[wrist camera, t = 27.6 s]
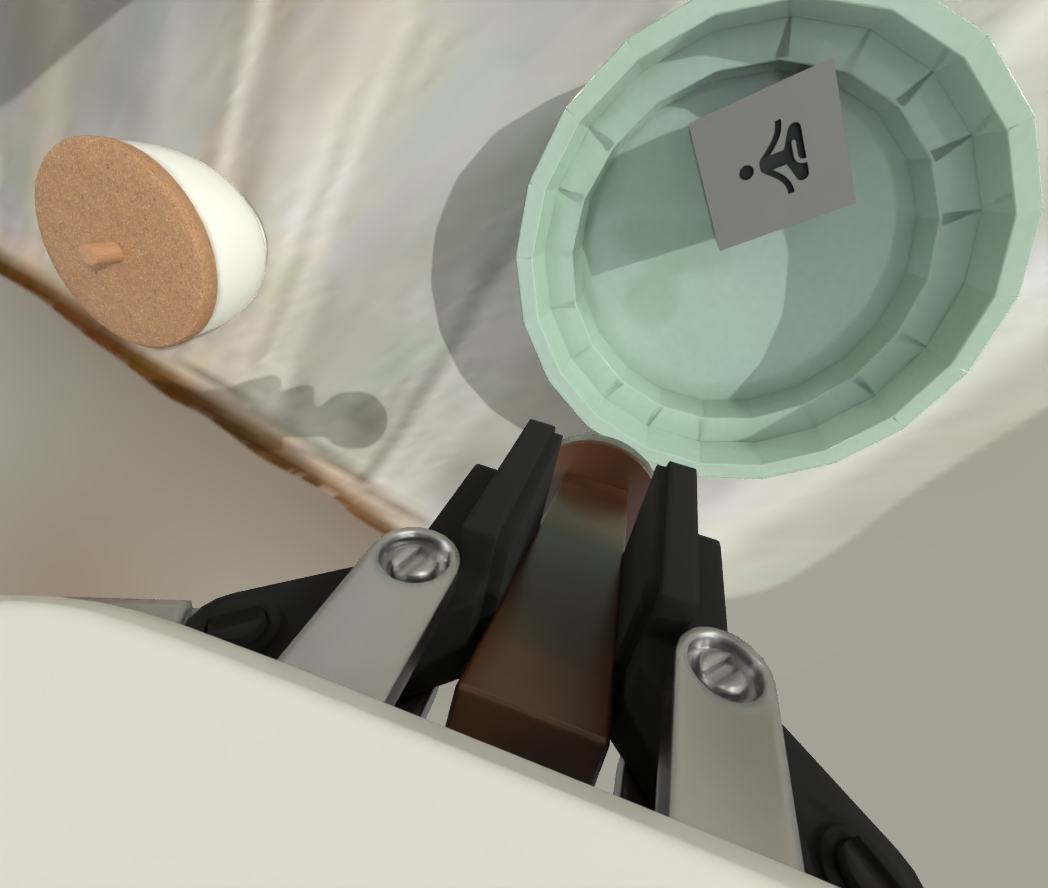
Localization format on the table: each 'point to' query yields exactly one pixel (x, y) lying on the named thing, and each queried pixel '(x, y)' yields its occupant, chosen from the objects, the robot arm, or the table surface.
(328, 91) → the table surface
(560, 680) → the muddler
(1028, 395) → the table surface
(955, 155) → the bowl
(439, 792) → the robot arm
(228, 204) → the trinket box
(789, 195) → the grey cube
